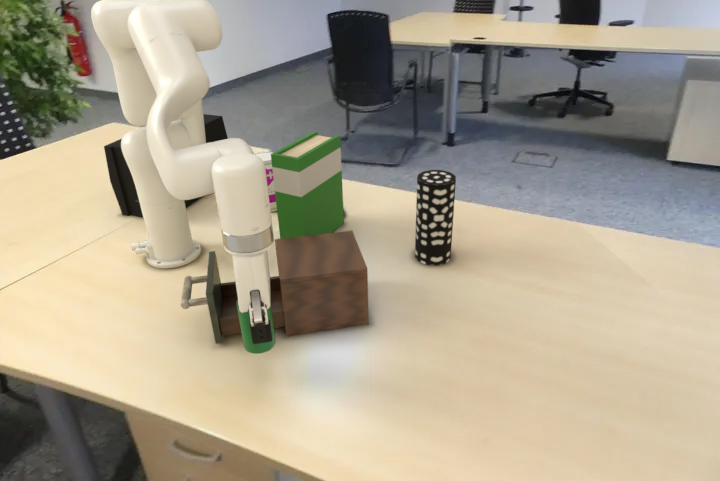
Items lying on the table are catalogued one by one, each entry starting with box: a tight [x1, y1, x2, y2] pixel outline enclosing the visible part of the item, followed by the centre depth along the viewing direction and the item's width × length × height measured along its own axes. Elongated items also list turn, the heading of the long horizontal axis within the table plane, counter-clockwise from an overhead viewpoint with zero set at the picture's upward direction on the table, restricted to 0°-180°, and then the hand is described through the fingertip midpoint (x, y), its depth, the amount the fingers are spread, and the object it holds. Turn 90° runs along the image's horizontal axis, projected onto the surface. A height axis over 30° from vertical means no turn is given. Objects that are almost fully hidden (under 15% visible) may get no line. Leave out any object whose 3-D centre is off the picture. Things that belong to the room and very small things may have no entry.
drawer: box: [180, 250, 285, 344], centre depth 106 cm, size 21×15×11 cm
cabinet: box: [274, 229, 370, 337], centre depth 108 cm, size 16×15×13 cm
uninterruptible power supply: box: [103, 113, 229, 219], centre depth 157 cm, size 16×34×20 cm, turn 157°
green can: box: [236, 300, 277, 355], centre depth 90 cm, size 5×5×9 cm
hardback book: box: [271, 130, 345, 239], centre depth 132 cm, size 18×7×24 cm, turn 151°
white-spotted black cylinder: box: [414, 169, 457, 266], centre depth 123 cm, size 8×8×20 cm
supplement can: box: [254, 151, 277, 213], centre depth 149 cm, size 8×8×15 cm
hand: (261, 329), depth 91 cm, fingers closed on green can, 5 cm apart
